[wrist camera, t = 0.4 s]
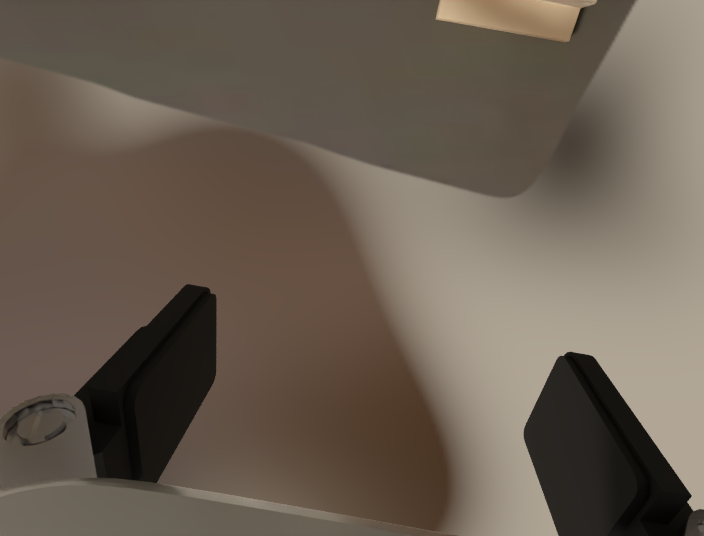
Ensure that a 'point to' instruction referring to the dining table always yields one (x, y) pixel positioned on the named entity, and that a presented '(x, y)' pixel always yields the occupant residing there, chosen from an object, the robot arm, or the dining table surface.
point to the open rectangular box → (517, 15)
